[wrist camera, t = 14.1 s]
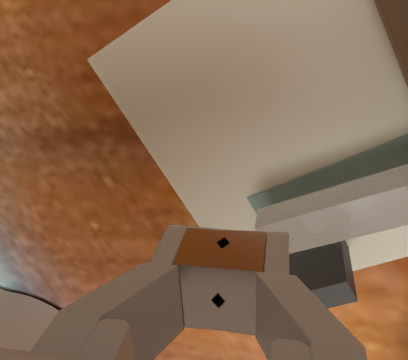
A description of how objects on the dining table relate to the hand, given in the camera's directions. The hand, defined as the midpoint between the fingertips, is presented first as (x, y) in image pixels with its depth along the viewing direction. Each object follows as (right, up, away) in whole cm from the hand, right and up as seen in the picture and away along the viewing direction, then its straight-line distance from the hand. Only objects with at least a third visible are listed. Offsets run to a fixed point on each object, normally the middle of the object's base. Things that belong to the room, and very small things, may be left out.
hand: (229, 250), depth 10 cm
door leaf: (+4, +4, +13) cm, 15 cm away
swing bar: (+8, +1, +9) cm, 12 cm away
